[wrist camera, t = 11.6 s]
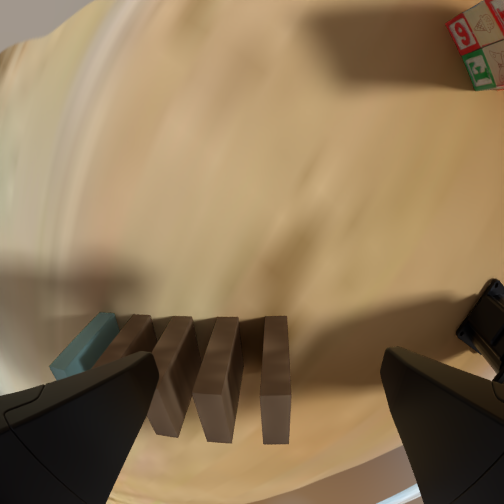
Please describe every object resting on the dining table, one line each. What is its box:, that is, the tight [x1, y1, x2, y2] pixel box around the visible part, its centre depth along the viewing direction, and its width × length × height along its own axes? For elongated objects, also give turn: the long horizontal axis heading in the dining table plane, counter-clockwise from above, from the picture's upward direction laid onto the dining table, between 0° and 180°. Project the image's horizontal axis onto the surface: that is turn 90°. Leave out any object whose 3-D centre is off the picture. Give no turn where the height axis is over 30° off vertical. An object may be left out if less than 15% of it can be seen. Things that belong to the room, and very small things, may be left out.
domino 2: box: [147, 316, 202, 438], centre depth 18 cm, size 2×5×8 cm, turn 3°
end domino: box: [49, 312, 120, 380], centre depth 19 cm, size 2×5×8 cm, turn 4°
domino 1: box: [91, 314, 157, 369], centre depth 19 cm, size 2×5×8 cm, turn 3°
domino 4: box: [260, 316, 291, 444], centre depth 18 cm, size 2×5×8 cm, turn 4°
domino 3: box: [192, 317, 244, 443], centre depth 18 cm, size 2×5×8 cm, turn 4°
